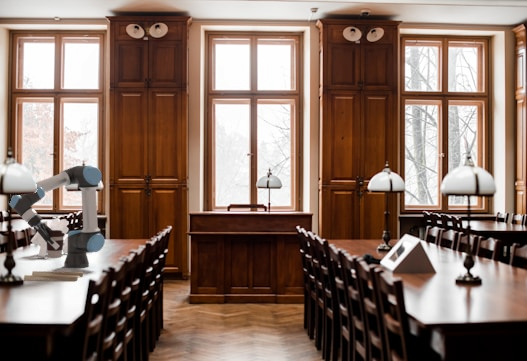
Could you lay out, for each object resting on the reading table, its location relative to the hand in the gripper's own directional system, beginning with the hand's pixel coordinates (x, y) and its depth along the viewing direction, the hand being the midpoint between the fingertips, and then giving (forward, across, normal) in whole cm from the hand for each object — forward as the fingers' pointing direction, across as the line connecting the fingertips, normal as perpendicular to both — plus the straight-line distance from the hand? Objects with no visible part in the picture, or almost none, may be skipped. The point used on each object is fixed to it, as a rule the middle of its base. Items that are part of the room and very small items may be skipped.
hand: (60, 246), depth 319 cm
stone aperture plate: (+15, -1, -10) cm, 18 cm away
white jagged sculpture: (-9, -99, -36) cm, 106 cm away
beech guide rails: (+10, 0, -15) cm, 18 cm away
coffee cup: (+2, 0, -6) cm, 7 cm away
